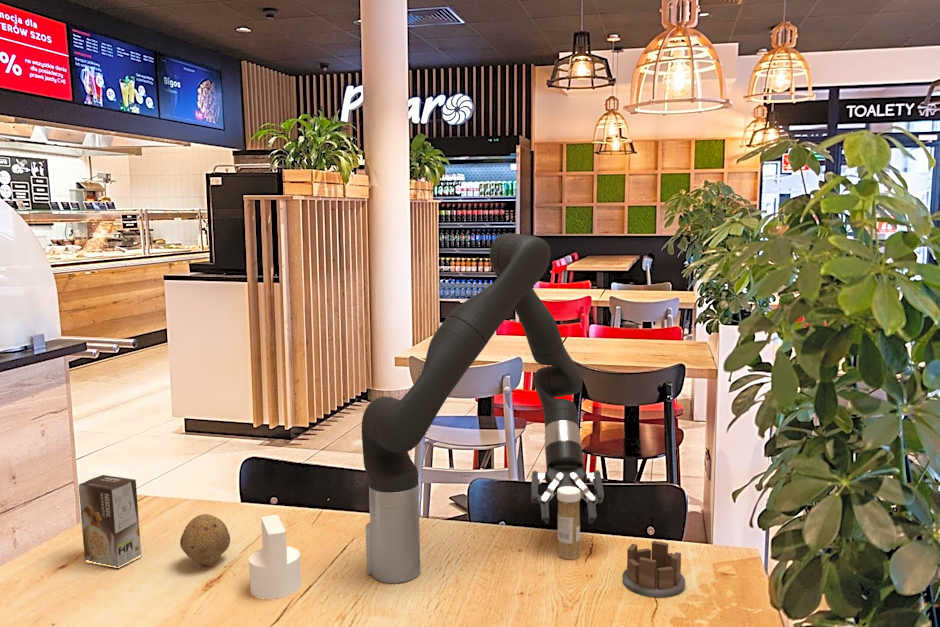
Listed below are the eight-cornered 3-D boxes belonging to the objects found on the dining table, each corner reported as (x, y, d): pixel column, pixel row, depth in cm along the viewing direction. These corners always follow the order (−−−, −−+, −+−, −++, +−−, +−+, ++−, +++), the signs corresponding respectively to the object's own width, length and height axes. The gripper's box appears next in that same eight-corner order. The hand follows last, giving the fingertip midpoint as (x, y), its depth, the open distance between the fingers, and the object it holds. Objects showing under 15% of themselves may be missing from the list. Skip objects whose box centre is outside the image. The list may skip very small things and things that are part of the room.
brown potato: (171, 571, 148) (167, 521, 147) (199, 552, 157) (196, 504, 155) (212, 577, 146) (210, 526, 145) (239, 557, 154) (236, 508, 153)
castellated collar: (614, 589, 139) (614, 556, 138) (633, 564, 148) (633, 534, 148) (676, 602, 134) (677, 569, 133) (691, 576, 143) (692, 545, 142)
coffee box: (143, 557, 155) (138, 479, 153) (118, 570, 149) (112, 489, 147) (108, 550, 158) (103, 473, 156) (82, 563, 153) (76, 484, 151)
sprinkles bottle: (585, 556, 153) (585, 490, 151) (567, 562, 150) (567, 494, 148) (569, 548, 156) (570, 483, 155) (552, 553, 154) (552, 488, 152)
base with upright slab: (247, 582, 144) (244, 519, 142) (296, 573, 147) (293, 511, 146) (254, 603, 135) (250, 537, 134) (305, 593, 139) (303, 529, 137)
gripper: (529, 439, 158) (533, 514, 148) (599, 438, 158) (608, 513, 148) (528, 456, 164) (531, 530, 154) (595, 455, 164) (604, 529, 154)
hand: (569, 522), depth 151 cm, fingers open, 8 cm apart
